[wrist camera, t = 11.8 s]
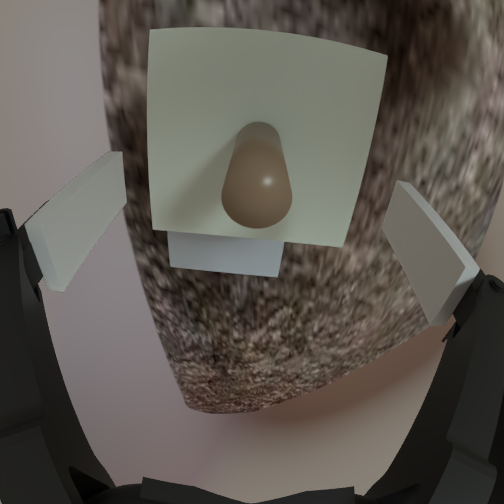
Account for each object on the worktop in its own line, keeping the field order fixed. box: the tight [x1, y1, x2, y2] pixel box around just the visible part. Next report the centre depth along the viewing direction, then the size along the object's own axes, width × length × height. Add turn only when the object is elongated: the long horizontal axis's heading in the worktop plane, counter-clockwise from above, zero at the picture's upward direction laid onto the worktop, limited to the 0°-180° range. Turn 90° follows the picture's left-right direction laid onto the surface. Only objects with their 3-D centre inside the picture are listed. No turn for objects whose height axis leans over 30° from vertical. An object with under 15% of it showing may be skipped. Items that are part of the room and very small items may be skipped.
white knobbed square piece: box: [147, 27, 388, 247], centre depth 18 cm, size 16×16×13 cm
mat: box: [167, 231, 284, 277], centre depth 42 cm, size 17×17×1 cm
